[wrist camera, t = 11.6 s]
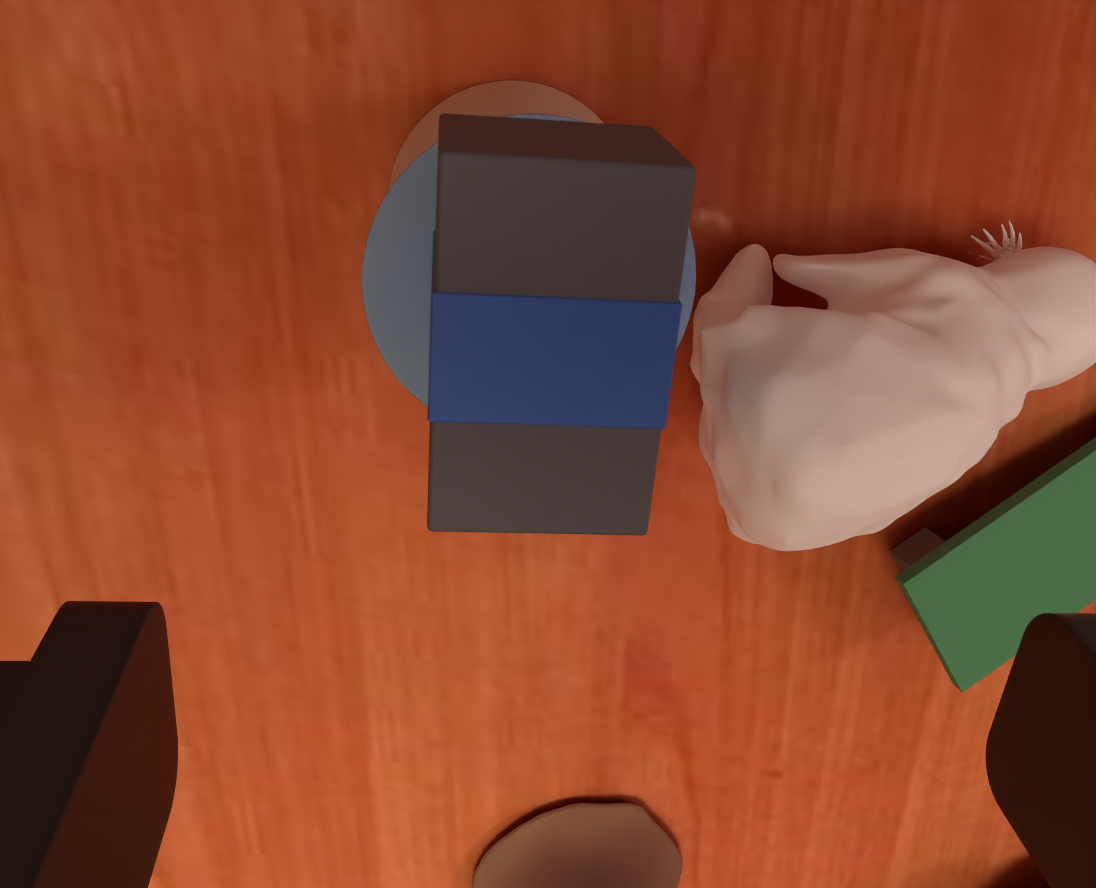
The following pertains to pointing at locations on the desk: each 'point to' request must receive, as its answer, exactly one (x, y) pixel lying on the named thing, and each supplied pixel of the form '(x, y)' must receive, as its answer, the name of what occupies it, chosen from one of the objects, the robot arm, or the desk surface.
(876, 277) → the white lumpy elongated piece
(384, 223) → the yogurt
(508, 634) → the desk surface
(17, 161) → the desk surface
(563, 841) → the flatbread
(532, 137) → the block
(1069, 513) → the circuit board
